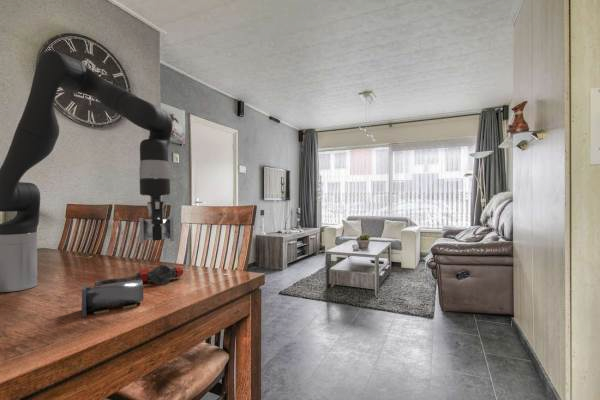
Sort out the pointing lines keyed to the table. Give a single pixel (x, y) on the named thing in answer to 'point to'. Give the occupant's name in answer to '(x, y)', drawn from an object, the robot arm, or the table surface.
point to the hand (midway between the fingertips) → (156, 238)
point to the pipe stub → (111, 296)
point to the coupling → (147, 227)
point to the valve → (149, 276)
